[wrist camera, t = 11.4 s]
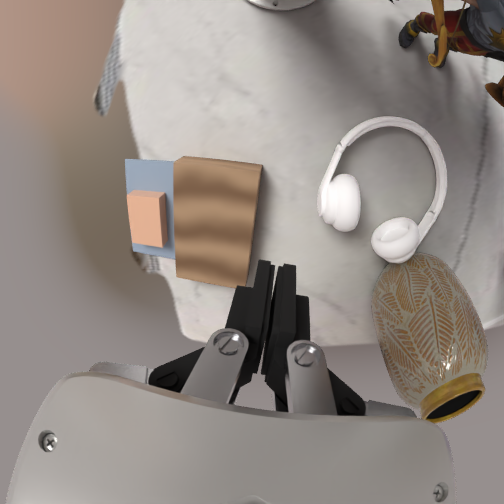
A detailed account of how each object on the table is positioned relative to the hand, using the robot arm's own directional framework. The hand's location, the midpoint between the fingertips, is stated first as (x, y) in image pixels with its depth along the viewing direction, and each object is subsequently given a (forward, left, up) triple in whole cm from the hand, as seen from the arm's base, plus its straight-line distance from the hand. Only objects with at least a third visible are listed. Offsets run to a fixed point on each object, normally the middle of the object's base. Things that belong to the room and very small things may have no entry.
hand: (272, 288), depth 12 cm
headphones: (0, +16, -30) cm, 34 cm away
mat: (+12, -20, -29) cm, 38 cm away
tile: (+13, -21, -28) cm, 37 cm away
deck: (+12, -9, -29) cm, 33 cm away
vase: (+18, +27, -29) cm, 44 cm away
